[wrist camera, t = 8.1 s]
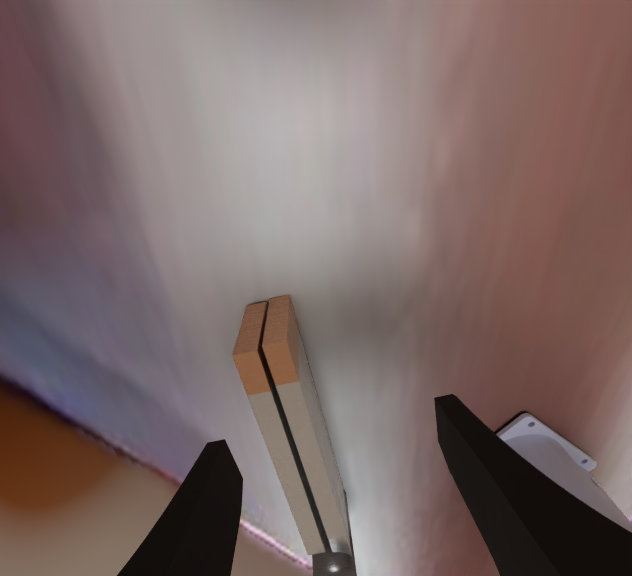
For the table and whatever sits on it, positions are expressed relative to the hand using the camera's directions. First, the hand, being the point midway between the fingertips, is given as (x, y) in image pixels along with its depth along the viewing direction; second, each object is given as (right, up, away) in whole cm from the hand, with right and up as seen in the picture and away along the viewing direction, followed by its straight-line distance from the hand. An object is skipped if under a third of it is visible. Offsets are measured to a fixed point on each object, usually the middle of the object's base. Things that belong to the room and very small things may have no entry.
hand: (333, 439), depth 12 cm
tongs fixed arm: (-1, -5, +14) cm, 14 cm away
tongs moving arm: (-3, -3, +13) cm, 13 cm away
